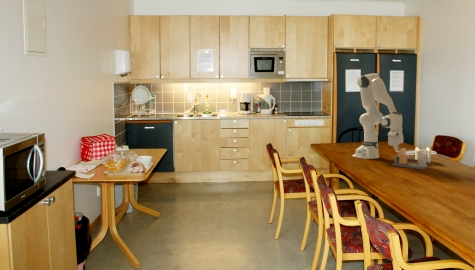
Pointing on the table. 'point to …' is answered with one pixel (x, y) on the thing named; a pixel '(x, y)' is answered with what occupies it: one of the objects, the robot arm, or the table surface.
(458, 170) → the table surface
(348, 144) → the table surface
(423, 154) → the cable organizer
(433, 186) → the table surface
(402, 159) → the orange piece
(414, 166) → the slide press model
